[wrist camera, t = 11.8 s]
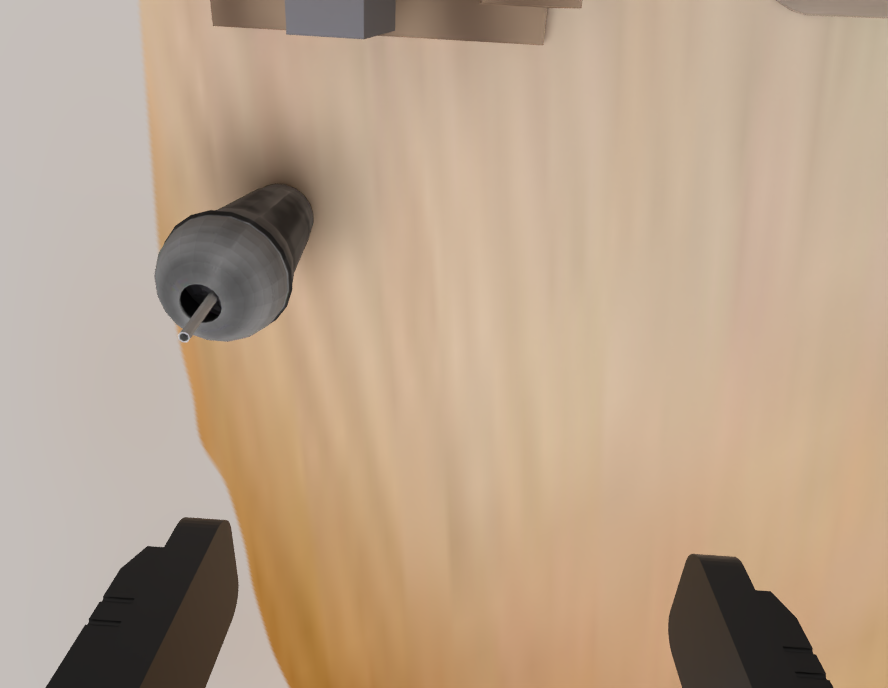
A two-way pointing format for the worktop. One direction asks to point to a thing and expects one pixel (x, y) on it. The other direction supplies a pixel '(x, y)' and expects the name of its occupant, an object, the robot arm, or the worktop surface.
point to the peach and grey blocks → (340, 18)
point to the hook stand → (421, 18)
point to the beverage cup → (234, 264)
